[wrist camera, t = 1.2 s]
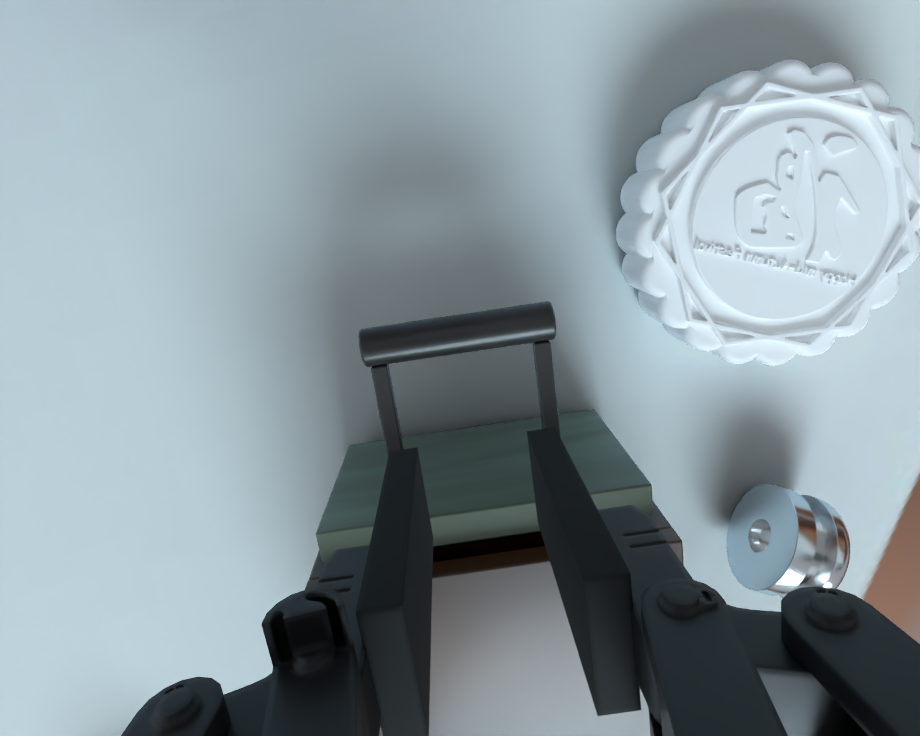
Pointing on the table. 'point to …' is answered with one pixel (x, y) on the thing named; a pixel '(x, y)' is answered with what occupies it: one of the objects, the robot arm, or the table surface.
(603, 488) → the drawer
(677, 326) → the mooncake
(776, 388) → the table surface
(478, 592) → the cabinet
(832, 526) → the grooved metal pulley
